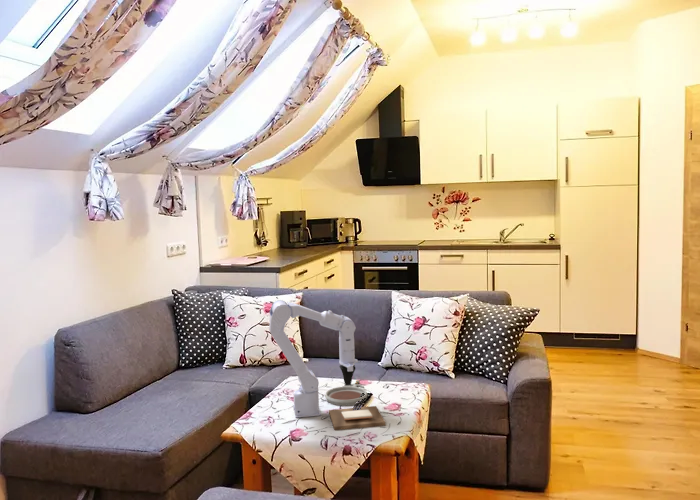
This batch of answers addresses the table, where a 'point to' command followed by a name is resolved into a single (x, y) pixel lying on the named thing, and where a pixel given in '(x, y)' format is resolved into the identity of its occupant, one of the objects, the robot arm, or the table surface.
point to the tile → (356, 414)
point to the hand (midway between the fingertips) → (347, 384)
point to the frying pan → (346, 394)
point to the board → (356, 423)
